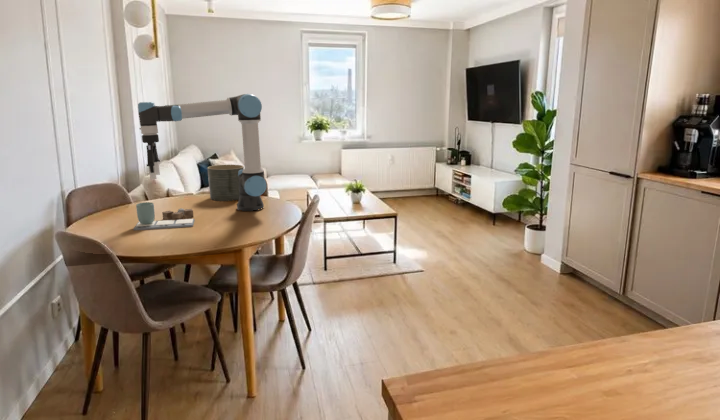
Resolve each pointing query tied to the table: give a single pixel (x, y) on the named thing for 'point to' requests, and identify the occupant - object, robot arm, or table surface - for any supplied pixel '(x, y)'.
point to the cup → (145, 212)
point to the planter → (224, 182)
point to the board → (165, 224)
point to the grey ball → (181, 210)
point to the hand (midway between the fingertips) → (155, 177)
